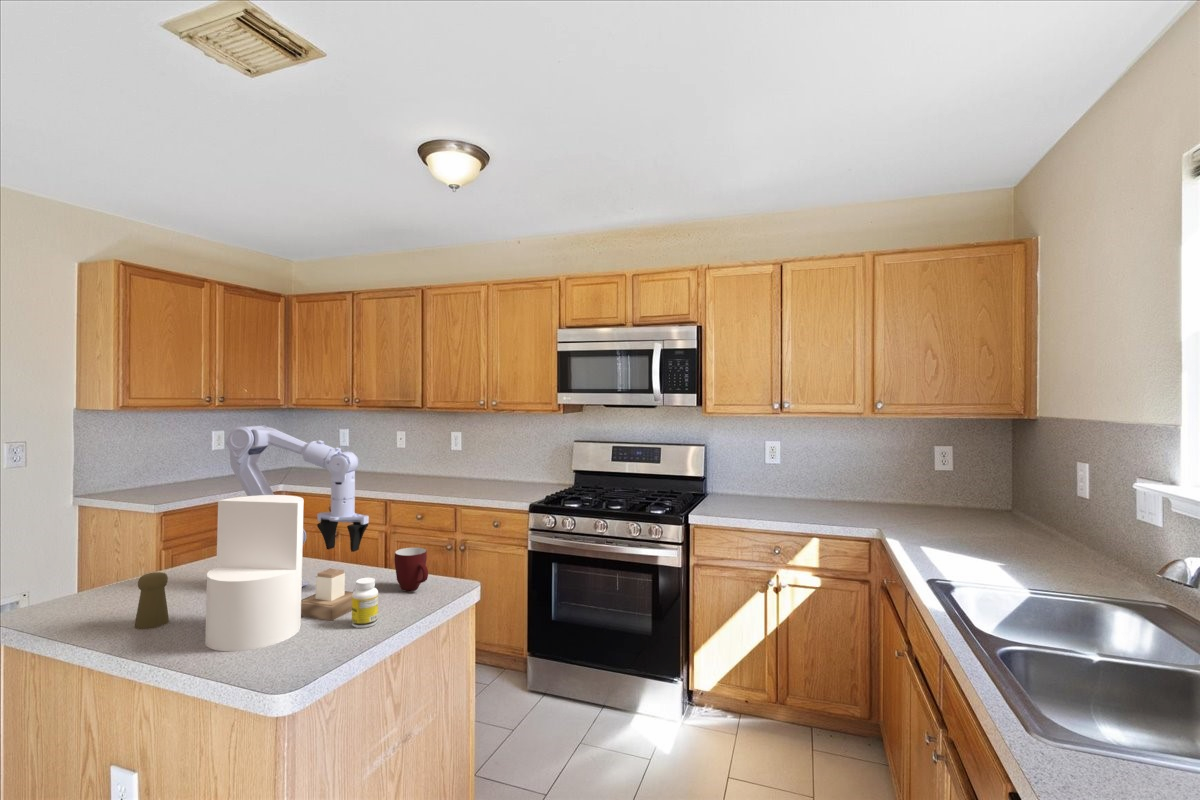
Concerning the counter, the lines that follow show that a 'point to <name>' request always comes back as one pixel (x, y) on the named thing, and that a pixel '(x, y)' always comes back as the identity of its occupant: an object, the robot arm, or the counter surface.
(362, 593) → the supplement bottle
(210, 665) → the counter surface
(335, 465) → the robot arm
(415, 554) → the mug
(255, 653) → the counter surface
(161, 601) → the cork
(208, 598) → the cream chair shape
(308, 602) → the tan square tray
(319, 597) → the beige rectangular block
